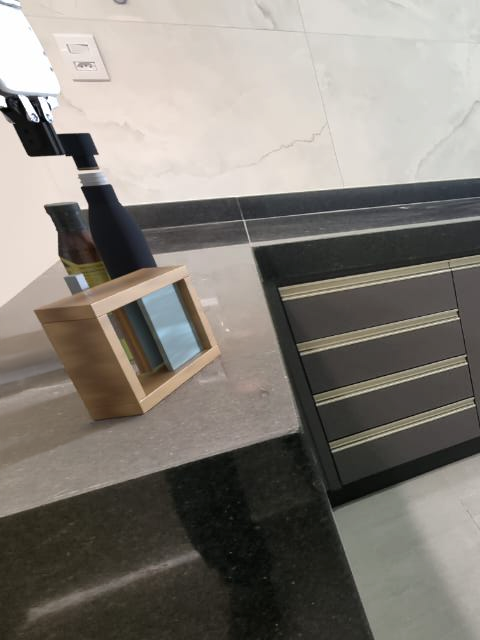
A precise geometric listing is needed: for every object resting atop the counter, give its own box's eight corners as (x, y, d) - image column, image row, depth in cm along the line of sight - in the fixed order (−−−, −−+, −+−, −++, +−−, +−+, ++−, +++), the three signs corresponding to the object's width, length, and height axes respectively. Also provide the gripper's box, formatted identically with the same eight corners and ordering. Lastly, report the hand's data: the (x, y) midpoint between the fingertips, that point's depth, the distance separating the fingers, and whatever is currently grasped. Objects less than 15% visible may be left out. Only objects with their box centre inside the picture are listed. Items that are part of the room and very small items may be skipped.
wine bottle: (145, 323, 90) (59, 133, 78) (121, 321, 92) (33, 134, 80) (185, 311, 96) (110, 132, 83) (161, 309, 98) (85, 133, 85)
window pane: (113, 377, 65) (62, 277, 60) (150, 354, 72) (107, 262, 66) (149, 373, 66) (102, 273, 60) (182, 350, 72) (143, 259, 67)
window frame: (92, 420, 59) (32, 309, 53) (181, 358, 75) (142, 268, 69) (144, 414, 60) (90, 304, 54) (221, 353, 76) (185, 264, 70)
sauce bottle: (101, 315, 96) (46, 202, 88) (144, 309, 98) (94, 199, 90) (84, 325, 91) (24, 206, 82) (130, 319, 93) (76, 203, 85)
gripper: (-14, 3, 68) (57, 155, 76) (-140, -27, 55) (-40, 160, 62) (55, 3, 70) (117, 152, 77) (-52, -27, 56) (36, 157, 64)
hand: (47, 155), depth 70 cm, fingers closed
